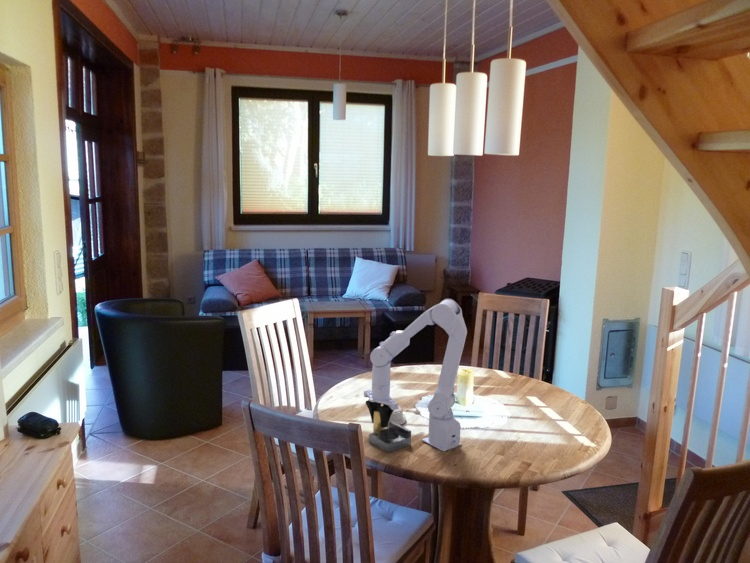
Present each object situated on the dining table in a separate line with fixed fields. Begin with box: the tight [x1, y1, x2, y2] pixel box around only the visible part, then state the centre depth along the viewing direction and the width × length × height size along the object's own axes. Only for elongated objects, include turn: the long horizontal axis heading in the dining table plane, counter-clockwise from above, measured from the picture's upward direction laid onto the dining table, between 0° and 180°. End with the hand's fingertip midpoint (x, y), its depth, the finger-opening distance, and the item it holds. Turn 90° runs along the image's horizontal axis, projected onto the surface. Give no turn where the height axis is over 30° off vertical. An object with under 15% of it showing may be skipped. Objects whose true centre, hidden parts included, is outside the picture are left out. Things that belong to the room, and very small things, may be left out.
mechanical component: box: [388, 405, 407, 426], centre depth 200 cm, size 10×4×10 cm
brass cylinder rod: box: [372, 409, 387, 433], centre depth 190 cm, size 4×4×7 cm
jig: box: [368, 421, 412, 453], centre depth 181 cm, size 9×9×4 cm
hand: (379, 424), depth 190 cm, fingers closed on brass cylinder rod, 4 cm apart
